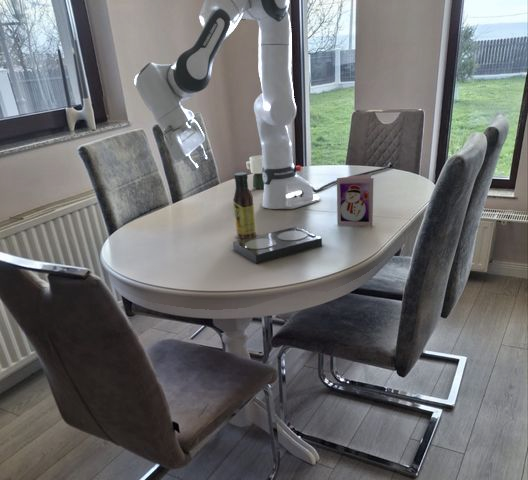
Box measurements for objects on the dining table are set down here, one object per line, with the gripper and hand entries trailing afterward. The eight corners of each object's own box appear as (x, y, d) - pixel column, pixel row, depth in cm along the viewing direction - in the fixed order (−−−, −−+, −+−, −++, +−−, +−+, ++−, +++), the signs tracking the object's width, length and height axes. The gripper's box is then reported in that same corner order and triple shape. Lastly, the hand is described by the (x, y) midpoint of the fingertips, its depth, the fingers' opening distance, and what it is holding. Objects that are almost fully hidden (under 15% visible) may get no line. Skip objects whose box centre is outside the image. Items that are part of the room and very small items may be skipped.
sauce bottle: (236, 234, 167) (229, 172, 157) (255, 232, 167) (249, 170, 157) (237, 240, 161) (230, 176, 151) (257, 238, 161) (251, 174, 151)
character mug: (274, 185, 225) (272, 154, 218) (269, 189, 219) (267, 158, 213) (251, 186, 228) (248, 155, 222) (245, 189, 222) (242, 158, 216)
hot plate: (295, 234, 162) (295, 225, 160) (321, 246, 150) (321, 236, 149) (233, 250, 154) (232, 241, 152) (256, 263, 142) (255, 254, 140)
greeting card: (336, 226, 166) (336, 178, 158) (342, 219, 171) (342, 173, 164) (371, 227, 162) (372, 178, 154) (376, 220, 167) (377, 173, 160)
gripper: (170, 125, 140) (198, 170, 146) (193, 110, 156) (218, 151, 162) (153, 137, 143) (181, 180, 149) (178, 120, 159) (202, 160, 165)
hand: (200, 165), depth 156 cm, fingers open, 8 cm apart
